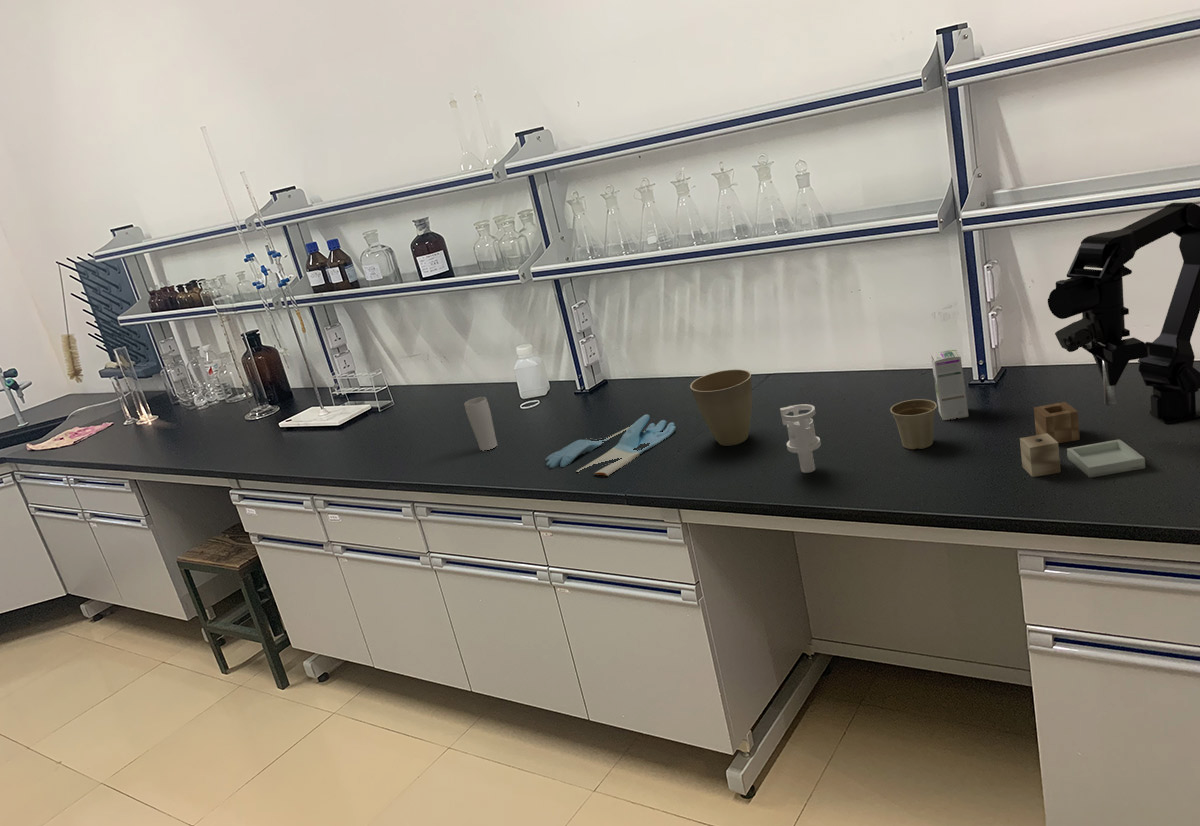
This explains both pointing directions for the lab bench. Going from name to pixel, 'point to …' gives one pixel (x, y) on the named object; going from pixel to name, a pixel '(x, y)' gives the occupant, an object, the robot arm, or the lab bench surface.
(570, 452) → the rubber gloves
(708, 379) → the plant pot
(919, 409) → the flower pot
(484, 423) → the drinking glass
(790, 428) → the strainer
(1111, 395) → the rod
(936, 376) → the syrup box
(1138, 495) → the lab bench surface
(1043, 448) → the maple block
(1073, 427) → the bored oak block
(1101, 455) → the tray
